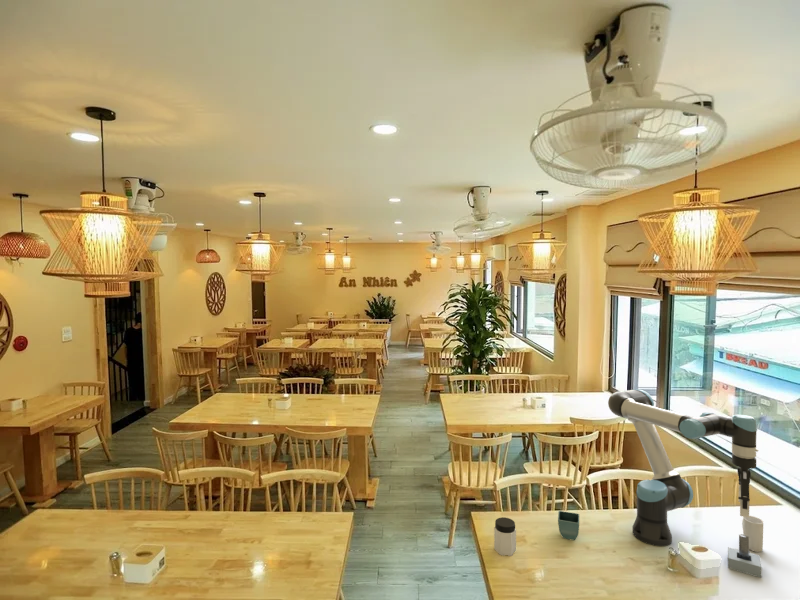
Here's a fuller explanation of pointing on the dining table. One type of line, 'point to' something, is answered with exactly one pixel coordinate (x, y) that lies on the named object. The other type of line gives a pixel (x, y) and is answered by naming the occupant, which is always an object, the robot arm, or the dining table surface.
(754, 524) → the beige oval cylinder
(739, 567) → the socket block
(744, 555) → the peg
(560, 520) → the flower pot
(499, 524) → the jar
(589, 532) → the dining table surface
